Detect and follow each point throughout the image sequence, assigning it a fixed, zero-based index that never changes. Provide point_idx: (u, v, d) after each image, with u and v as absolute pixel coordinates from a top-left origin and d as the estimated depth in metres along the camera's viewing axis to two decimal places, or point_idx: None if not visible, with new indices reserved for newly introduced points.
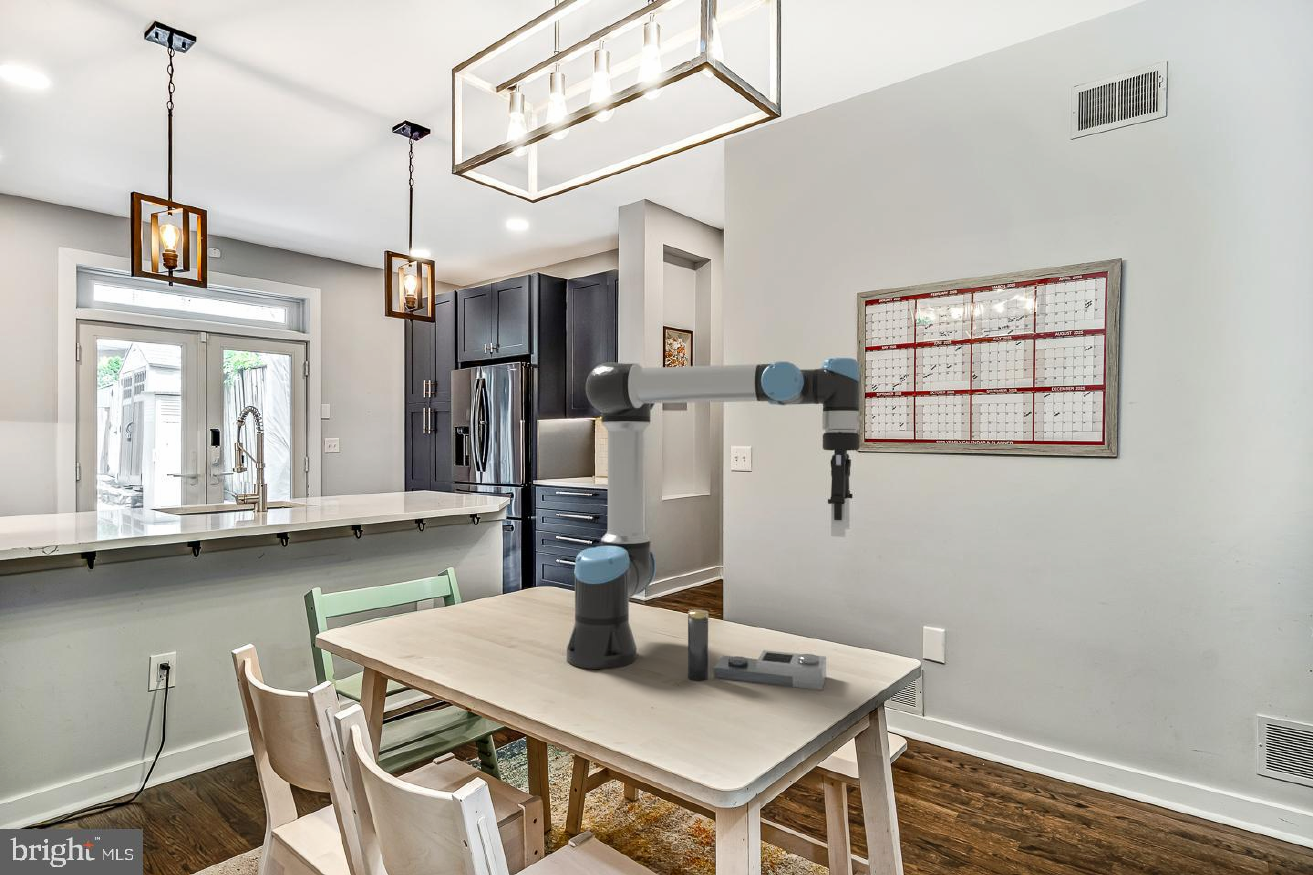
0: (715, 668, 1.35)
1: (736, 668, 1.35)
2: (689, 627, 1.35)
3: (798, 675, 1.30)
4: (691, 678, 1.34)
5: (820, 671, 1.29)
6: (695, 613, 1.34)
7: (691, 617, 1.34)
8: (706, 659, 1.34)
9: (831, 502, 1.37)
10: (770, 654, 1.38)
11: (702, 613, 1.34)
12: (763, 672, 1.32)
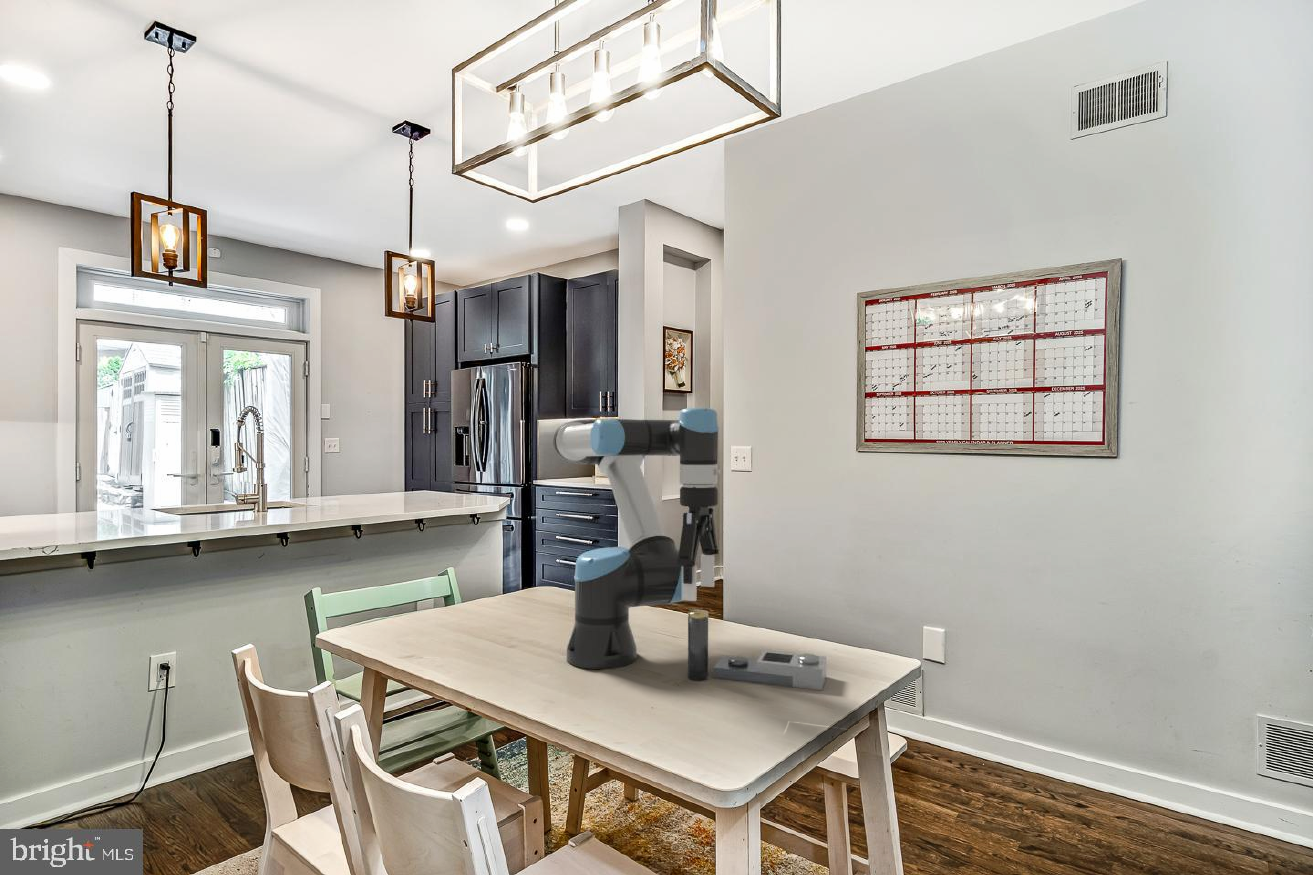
0: (715, 668, 1.35)
1: (736, 668, 1.35)
2: (689, 627, 1.35)
3: (798, 675, 1.30)
4: (691, 678, 1.34)
5: (820, 671, 1.29)
6: (695, 613, 1.34)
7: (691, 617, 1.34)
8: (706, 659, 1.34)
9: (680, 564, 1.28)
10: (770, 654, 1.38)
11: (702, 613, 1.34)
12: (763, 672, 1.32)
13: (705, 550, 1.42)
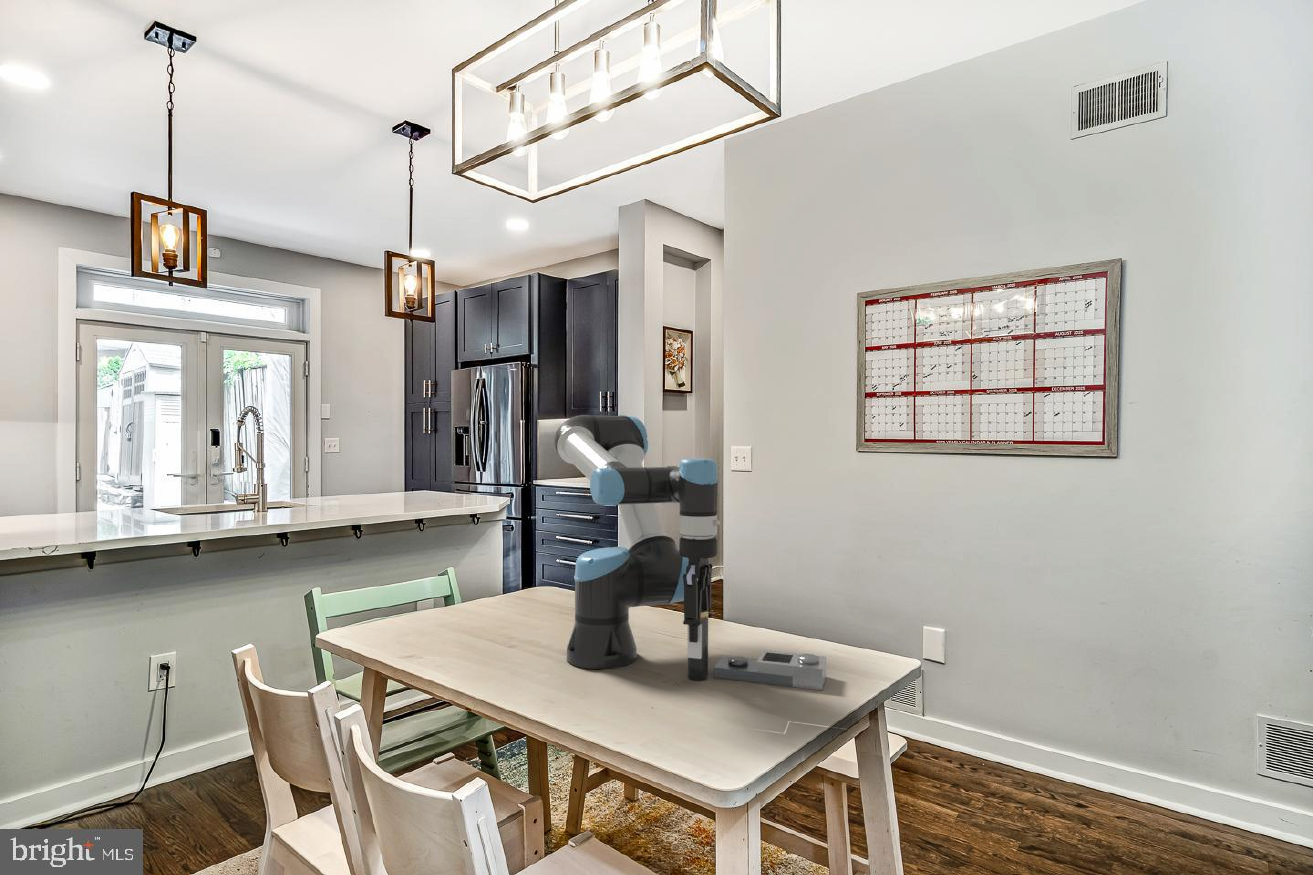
0: (715, 668, 1.35)
1: (736, 668, 1.35)
2: None
3: (798, 675, 1.30)
4: (691, 678, 1.34)
5: (820, 671, 1.29)
6: None
7: None
8: (706, 659, 1.34)
9: (687, 624, 1.33)
10: (770, 654, 1.38)
11: (702, 613, 1.34)
12: (763, 672, 1.32)
13: None
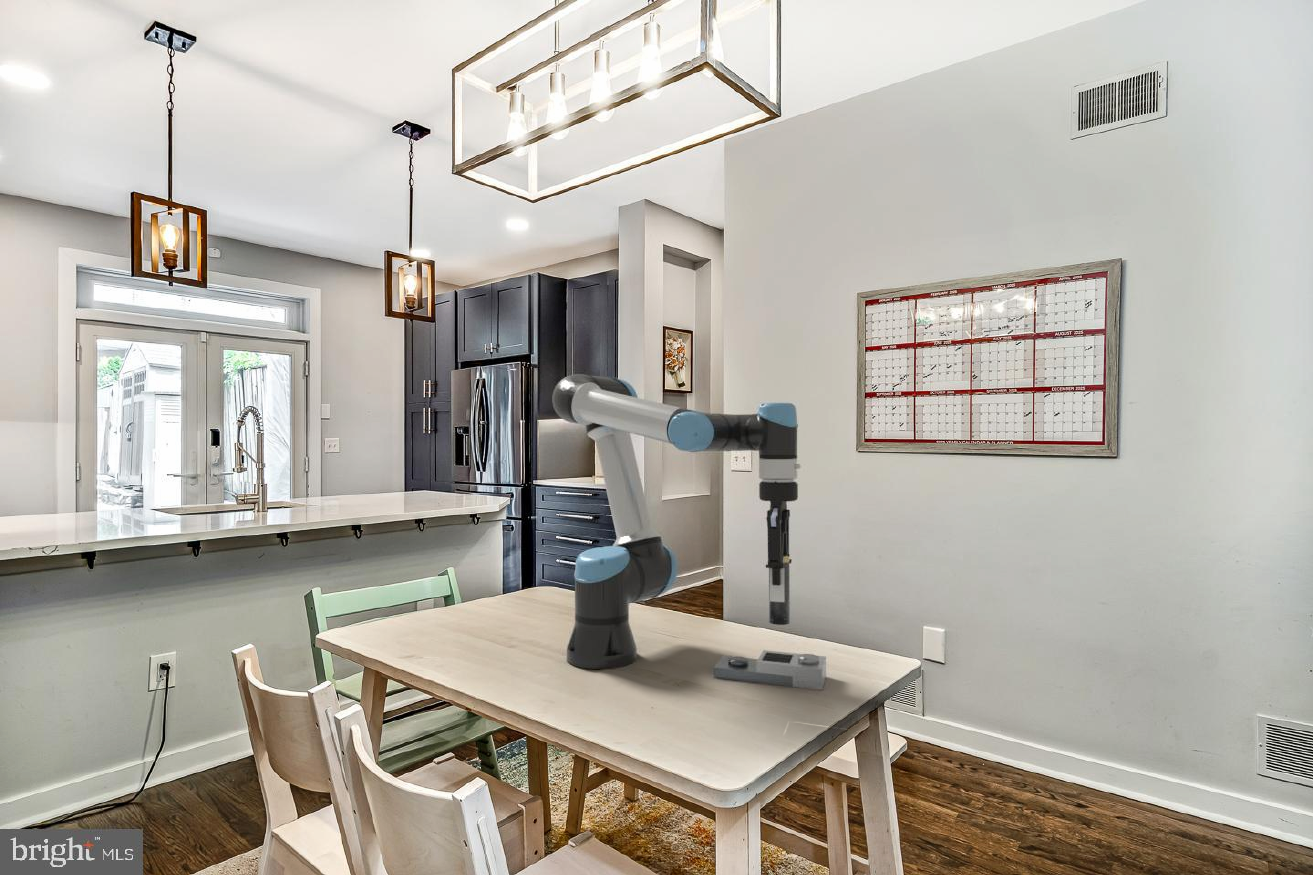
0: (715, 668, 1.35)
1: (736, 668, 1.35)
2: None
3: (798, 675, 1.30)
4: (773, 622, 1.34)
5: (820, 671, 1.29)
6: None
7: None
8: (788, 603, 1.34)
9: (769, 567, 1.32)
10: (770, 654, 1.38)
11: (784, 557, 1.34)
12: (763, 672, 1.32)
13: None
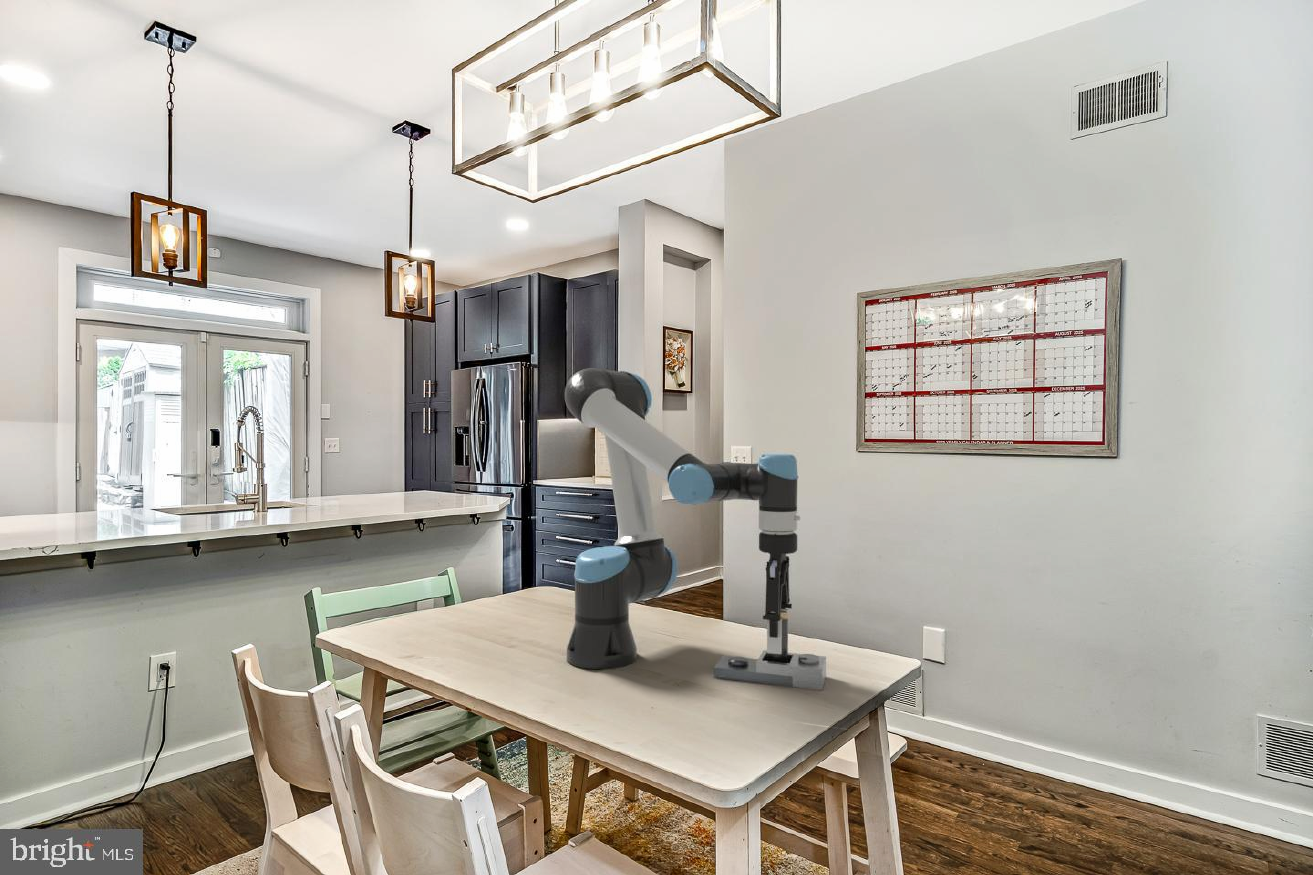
0: (715, 668, 1.35)
1: (736, 668, 1.35)
2: None
3: (798, 675, 1.30)
4: None
5: (820, 671, 1.29)
6: None
7: None
8: (786, 659, 1.34)
9: (766, 618, 1.31)
10: None
11: (782, 613, 1.34)
12: (763, 672, 1.32)
13: None
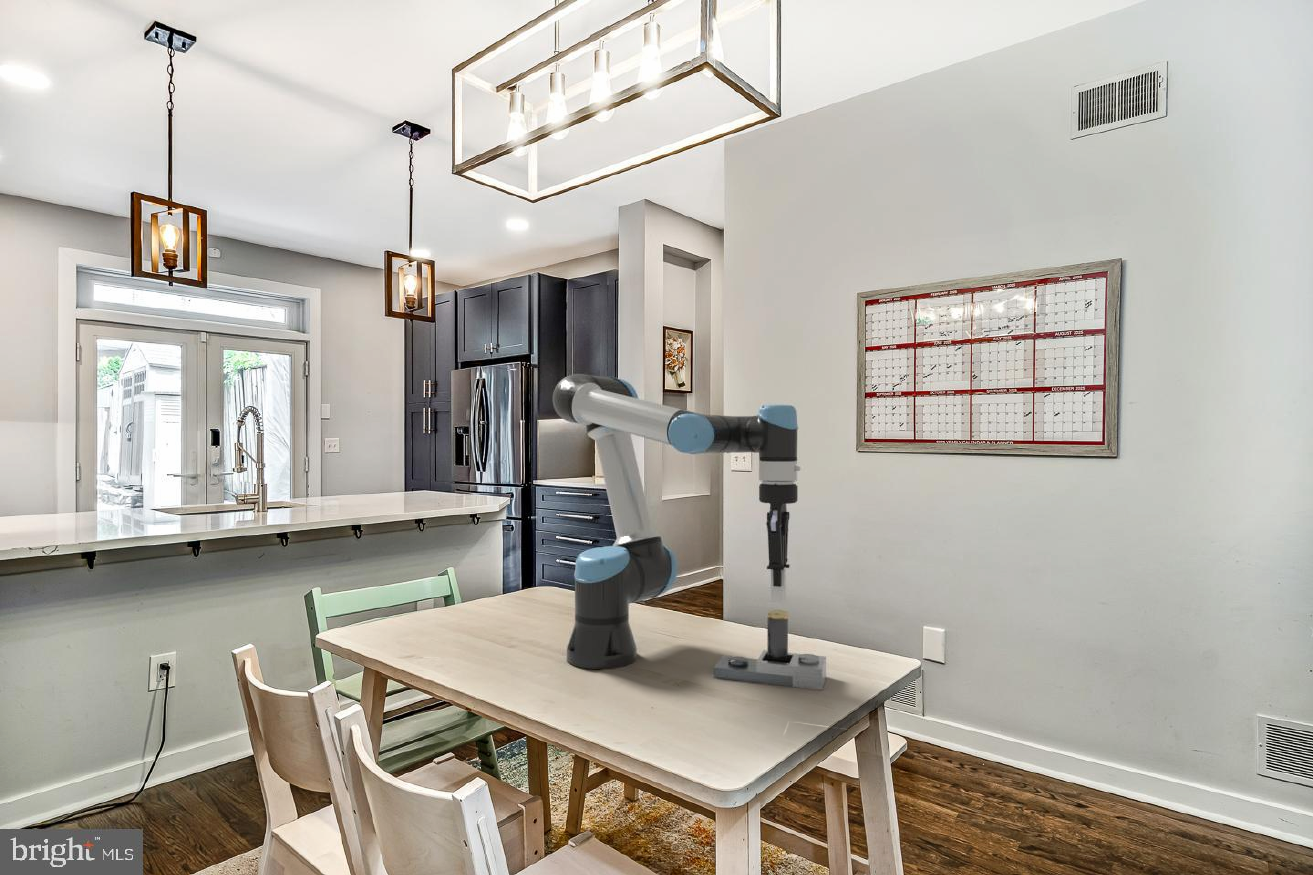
0: (715, 668, 1.35)
1: (736, 668, 1.35)
2: (769, 628, 1.34)
3: (798, 675, 1.30)
4: None
5: (820, 671, 1.29)
6: (775, 613, 1.34)
7: (771, 617, 1.34)
8: (786, 660, 1.34)
9: None
10: None
11: (782, 613, 1.34)
12: (763, 672, 1.32)
13: None
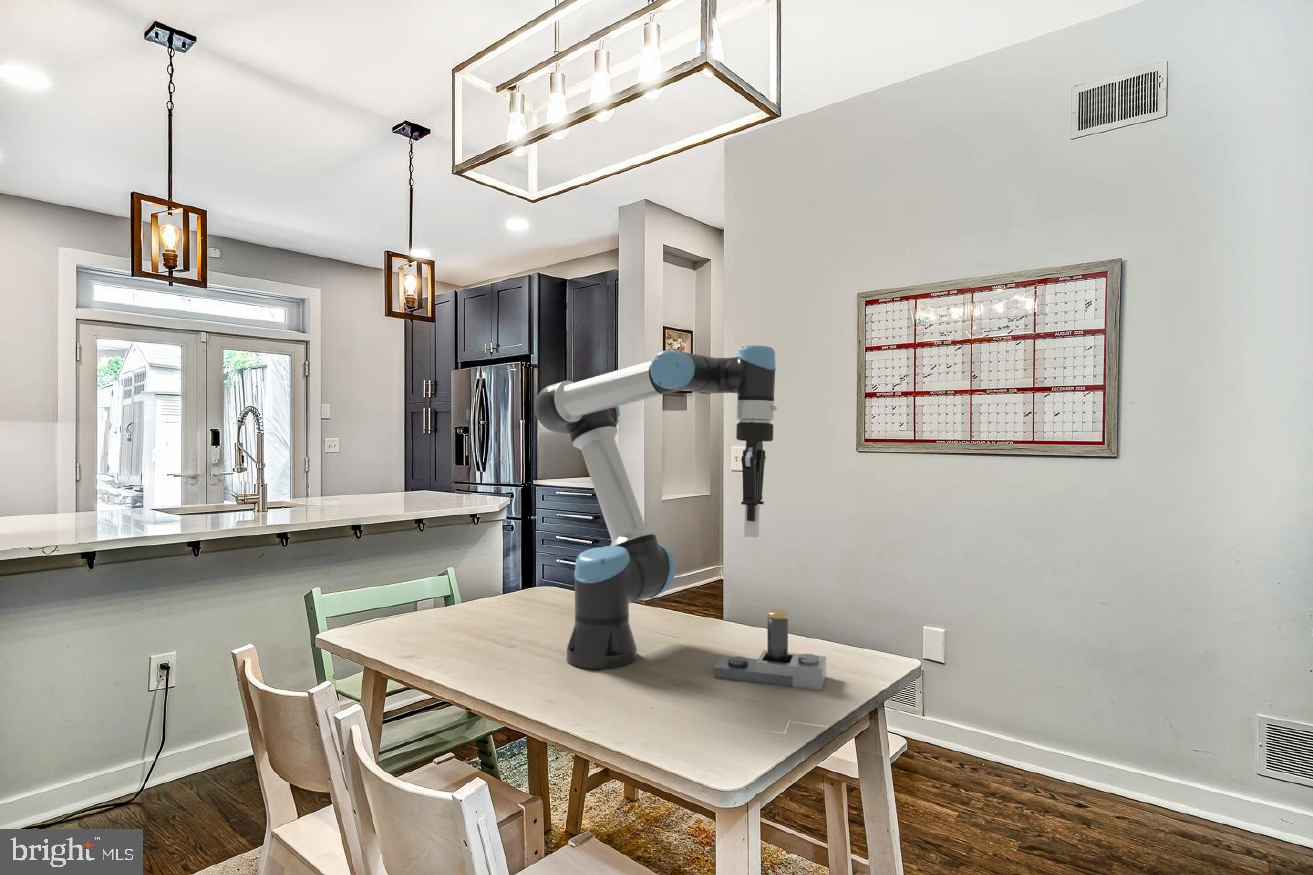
0: (715, 668, 1.35)
1: (736, 668, 1.35)
2: (769, 627, 1.34)
3: (798, 675, 1.30)
4: None
5: (820, 671, 1.29)
6: (775, 613, 1.34)
7: (771, 617, 1.34)
8: (786, 660, 1.34)
9: (745, 504, 1.39)
10: None
11: (782, 613, 1.34)
12: (763, 672, 1.32)
13: None
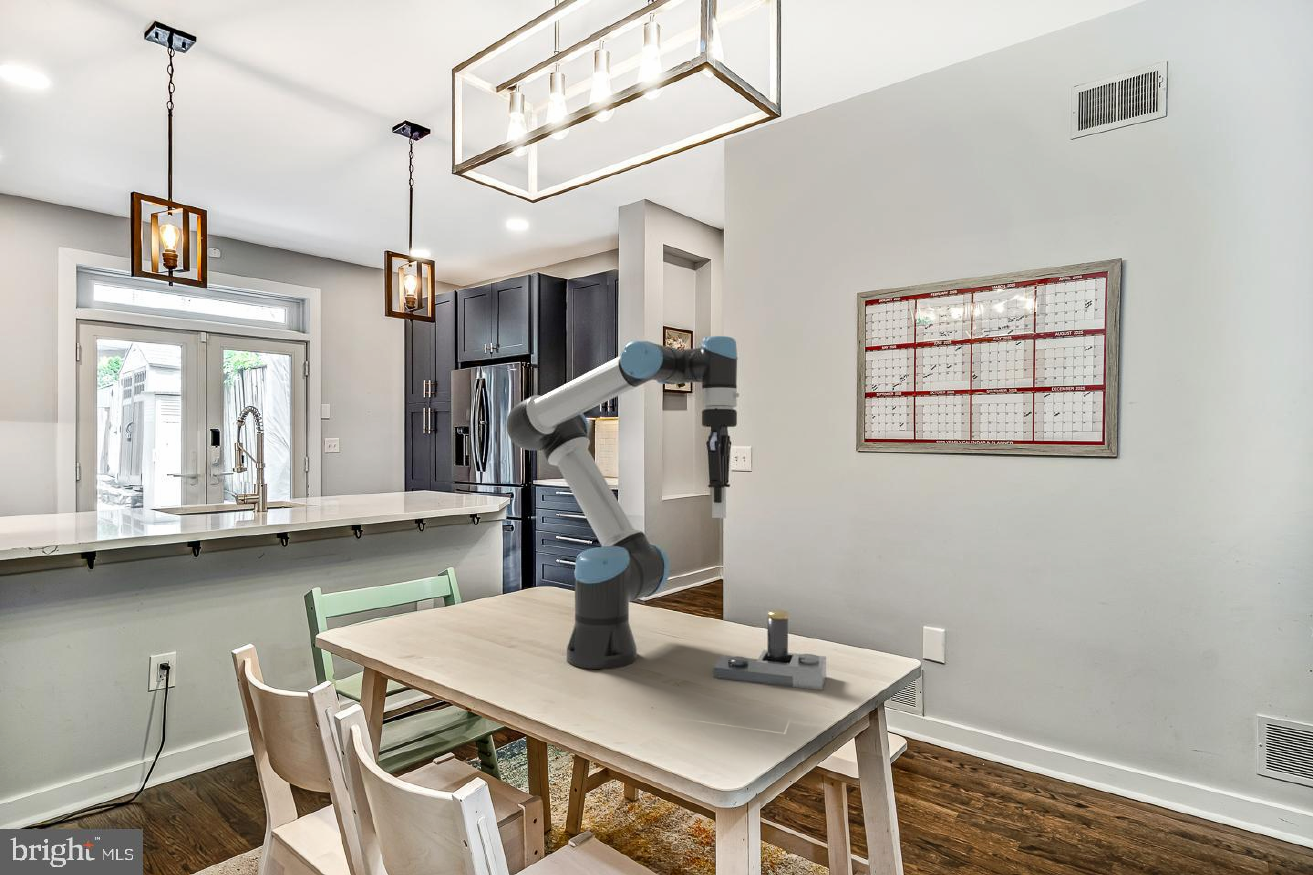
0: (715, 668, 1.35)
1: (736, 668, 1.35)
2: (769, 627, 1.34)
3: (798, 675, 1.30)
4: None
5: (820, 671, 1.29)
6: (775, 613, 1.34)
7: (771, 617, 1.34)
8: (786, 660, 1.34)
9: (711, 487, 1.47)
10: None
11: (782, 613, 1.34)
12: (763, 672, 1.32)
13: None
